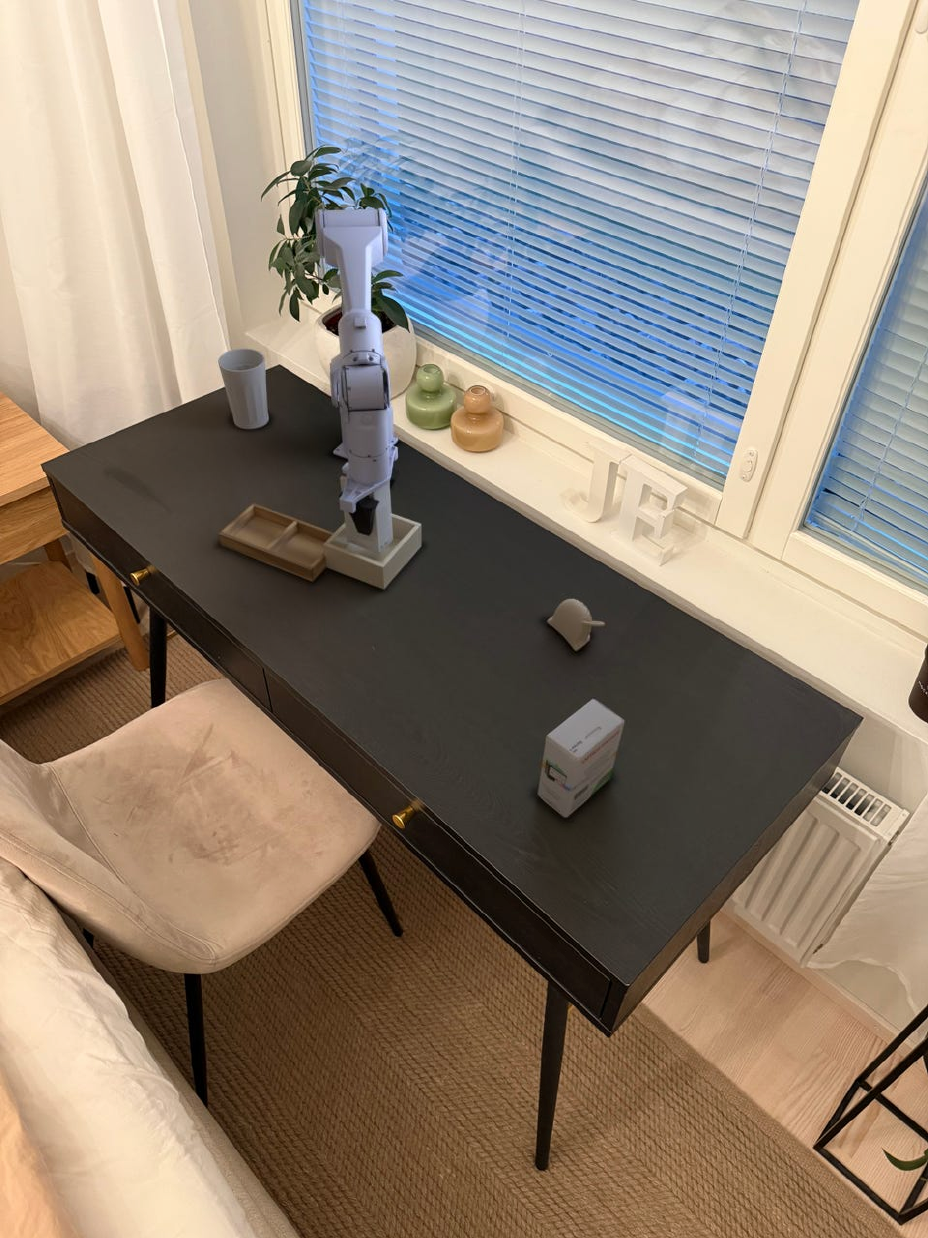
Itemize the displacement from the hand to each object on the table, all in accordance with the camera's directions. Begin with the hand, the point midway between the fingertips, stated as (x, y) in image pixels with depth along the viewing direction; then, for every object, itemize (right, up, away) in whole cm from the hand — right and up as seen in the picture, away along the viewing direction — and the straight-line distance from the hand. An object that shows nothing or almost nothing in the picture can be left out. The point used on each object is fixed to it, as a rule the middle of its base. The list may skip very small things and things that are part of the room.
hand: (372, 522), depth 133 cm
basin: (0, -5, +5) cm, 7 cm away
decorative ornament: (+29, -17, -6) cm, 34 cm away
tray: (-14, -3, +6) cm, 16 cm away
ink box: (+27, -35, -24) cm, 50 cm away
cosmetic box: (-1, -3, +3) cm, 4 cm away
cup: (-25, +22, +31) cm, 45 cm away
